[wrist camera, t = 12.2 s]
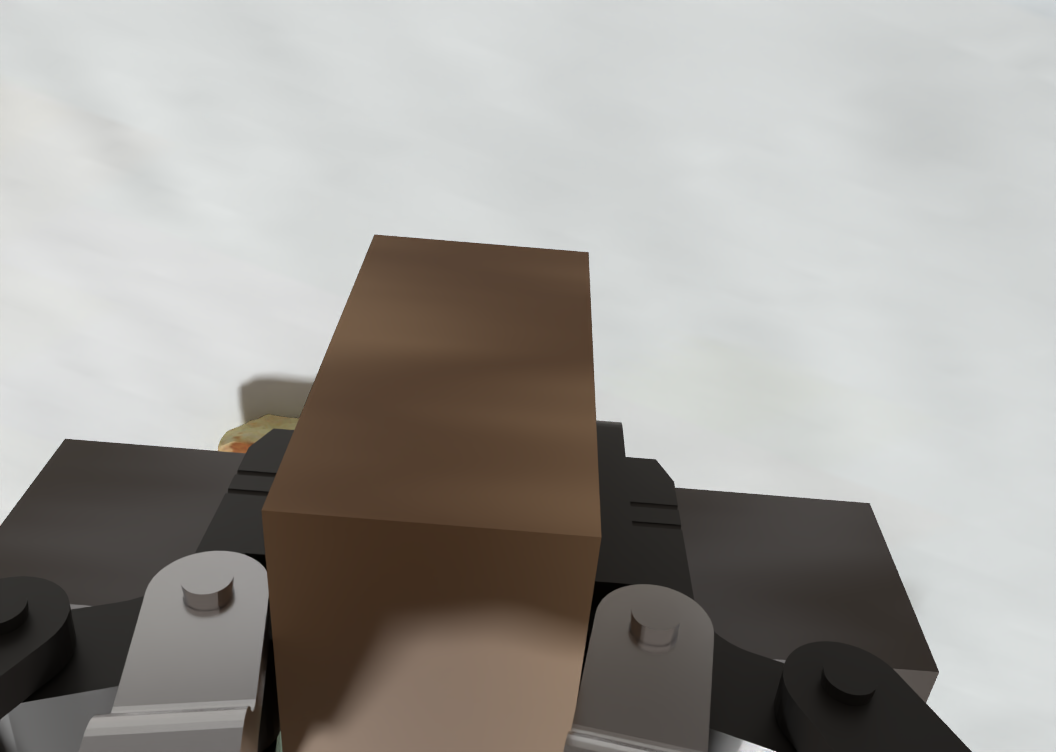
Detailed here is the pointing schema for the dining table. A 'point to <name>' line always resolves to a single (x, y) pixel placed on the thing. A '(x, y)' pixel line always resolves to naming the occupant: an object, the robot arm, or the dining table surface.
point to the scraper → (454, 520)
